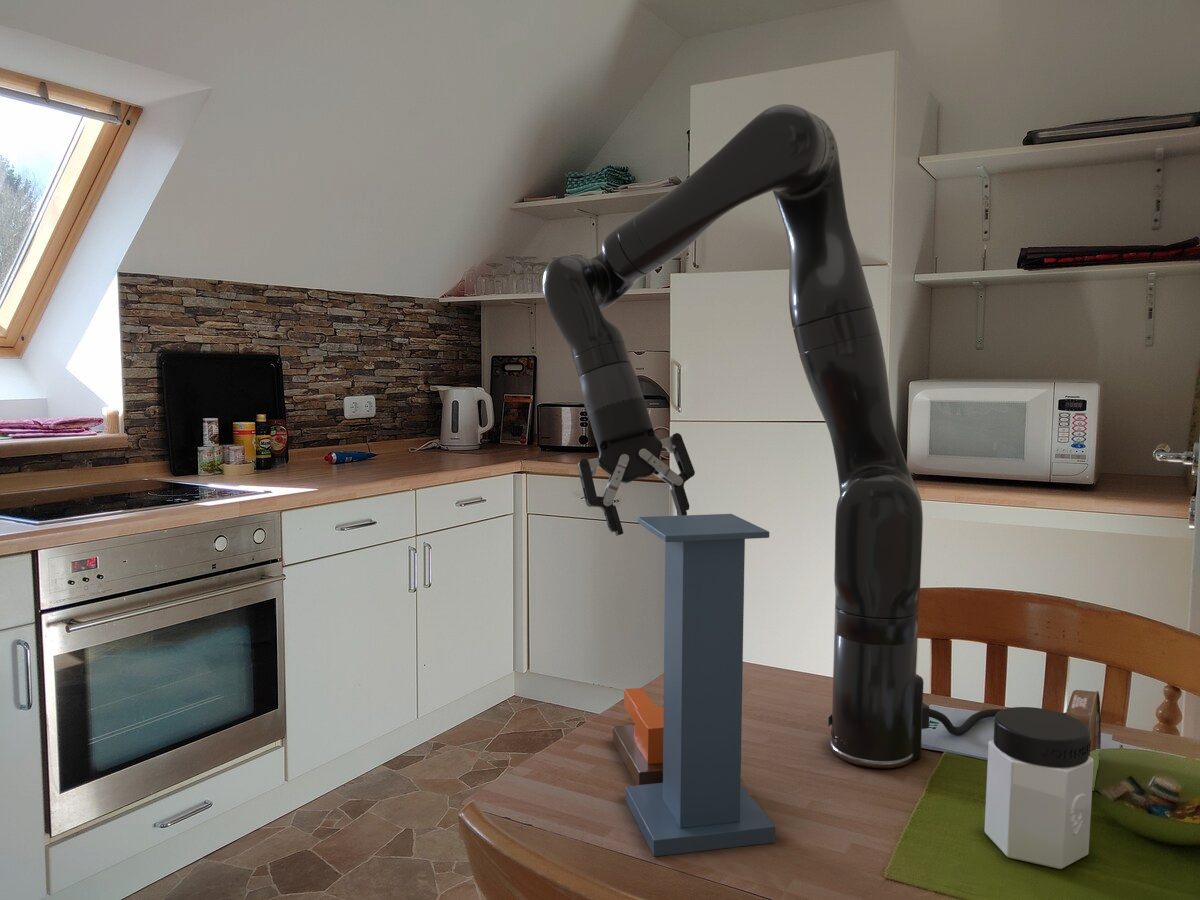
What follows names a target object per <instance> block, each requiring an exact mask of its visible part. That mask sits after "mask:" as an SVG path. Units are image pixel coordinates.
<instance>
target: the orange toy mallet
mask: <svg viewBox="0 0 1200 900" xmlns="http://www.w3.org/2000/svg"><path fill="white" fill-rule="evenodd" d="M623 707H624V709H625V710H626V712H627V714H628V715H629V717H630V719H631V721H632V722H633V723H634V725H635V743H636V745H637V747H638V748H639V750H640V752H641V753H642V755H643V757H644V758H645V760H646V762H647V763H648V764H656V763H663V722H664V705H662V706H656V704H655V703H654V702H653V700H652V699H651V697H650V695H648V693H647V692H646V691H645V690H644V688H643V687H634V688H624V689H623Z"/></svg>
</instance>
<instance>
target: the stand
mask: <svg viewBox="0 0 1200 900" xmlns="http://www.w3.org/2000/svg"><path fill="white" fill-rule="evenodd" d="M637 524H639V525H640V526H642V527H643V528H645V529H646V530H647V531H649V532H650V533H652V534H653V535H654V536H656V537H657V538H659V539H660V540H662V541H663V542H664V609H663V610H664V617H663V619H664V622H663V623H664V625H663V626H664V627H663V633H664V634H663V638H664V639H663V706H664V722H663V783H656V784H646V785H636V784H635V785H626V786H625V803H626V805H627V807H628V809H629V810H630V812H631V814H632V816H633V818H634V820H635V822H636V824H637V826H638V828H639V830H640V832H641V835H642V837H643V838H644V840H645V842H646V844H647V846H648V848H649V850H650V852H651V854H652V856H653V857H662V856H671V855H680V854H687V853H696V852H697V853H698V852H705V851H713V850H721V849H730V848H739V847H748V846H755V845H757V846H758V845H764V844H773V843H776V825H775V824H774V823H773V821H771V819H770V818H769V816H768V815H767V814H766V813H765V812H764V811H763V809H762V808H761V806H759V804H758V803H757V802H756V800H755V799H754V798H753V796H751V794H750V793H749V791H748V790H747V789H746V788H745V787H744V786H743V784H742V783H741V782H742V781H741V780H742V779H741V778H742V777H741V776H742V770H741V769H742V730H743V729H742V727H743V726H742V722H743V672H744V671H743V669H744V667H743V666H744V617H745V616H744V611H745V607H744V606H745V563H746V562H745V561H746V559H745V553H746V540H751V539H752V540H753V539H769V538H770V531H769V530H767V529H765V528H762V527H760V526H759V525H756V524H754V523H752V522H750V521H748V520H745V519H743V518H742V517H739V516H737V515H735V514H733V513H715V514H714V513H713V514H712V513H710V514H689V515H688V514H687V515H682V516H678V515H659V516H655V515H654V516H637Z"/></svg>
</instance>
